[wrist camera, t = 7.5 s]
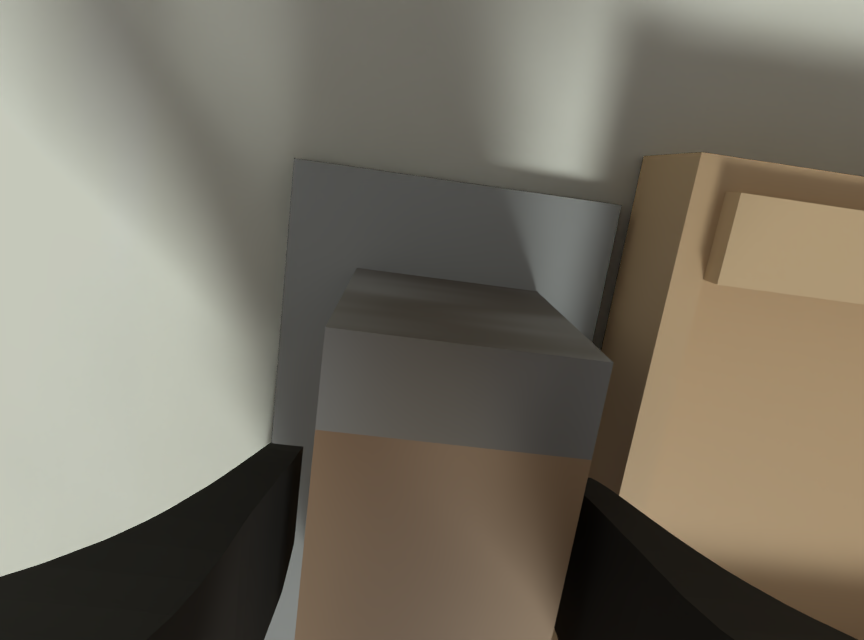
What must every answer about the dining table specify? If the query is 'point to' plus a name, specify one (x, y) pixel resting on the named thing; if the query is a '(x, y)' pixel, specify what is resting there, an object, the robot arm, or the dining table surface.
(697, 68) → the dining table surface
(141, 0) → the dining table surface
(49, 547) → the dining table surface
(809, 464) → the shallow wooden tray
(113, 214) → the dining table surface
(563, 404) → the box
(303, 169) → the mat
